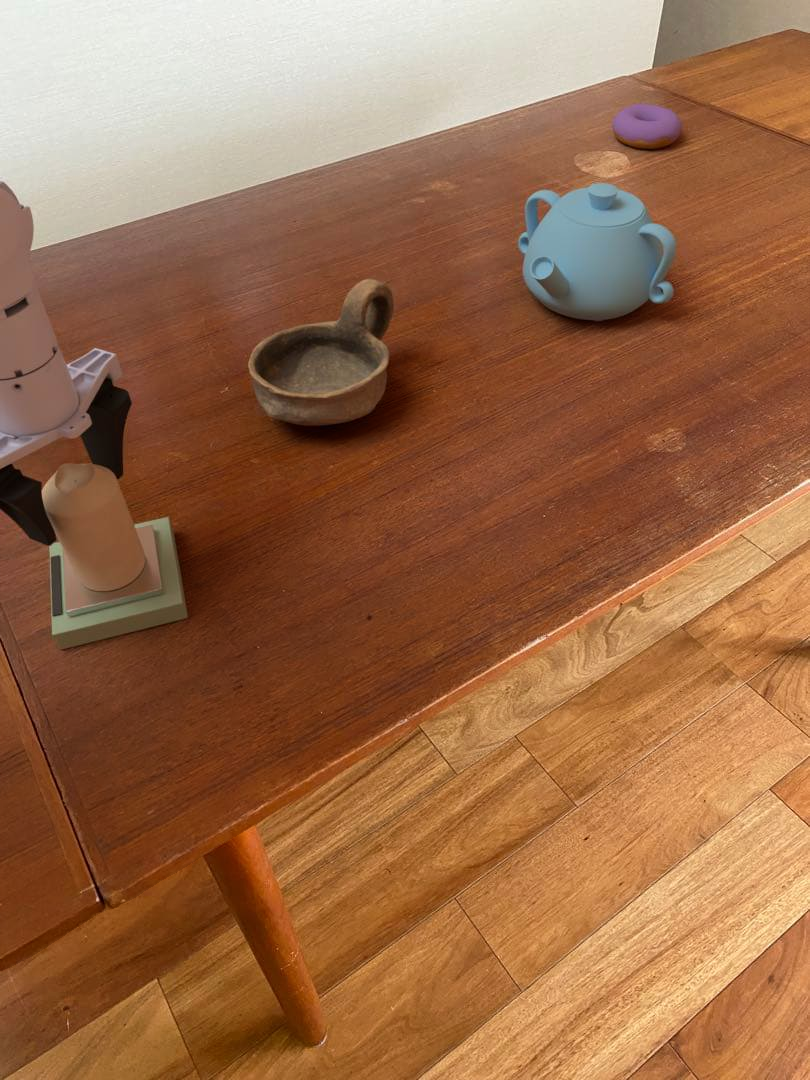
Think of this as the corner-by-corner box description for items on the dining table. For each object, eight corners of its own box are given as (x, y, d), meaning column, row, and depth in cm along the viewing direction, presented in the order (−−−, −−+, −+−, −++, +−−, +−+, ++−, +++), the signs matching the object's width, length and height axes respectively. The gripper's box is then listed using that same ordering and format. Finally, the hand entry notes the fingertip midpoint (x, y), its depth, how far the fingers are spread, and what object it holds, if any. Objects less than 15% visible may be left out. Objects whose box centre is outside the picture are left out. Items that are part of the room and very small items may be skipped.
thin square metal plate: (68, 617, 67) (65, 612, 67) (65, 550, 72) (62, 544, 71) (164, 594, 68) (162, 588, 68) (154, 529, 73) (152, 524, 73)
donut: (597, 139, 127) (605, 103, 124) (626, 132, 133) (635, 97, 130) (658, 156, 122) (668, 119, 119) (686, 148, 128) (696, 113, 125)
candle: (65, 563, 70) (20, 472, 63) (126, 530, 72) (90, 439, 65) (95, 603, 67) (53, 513, 60) (158, 568, 69) (124, 476, 62)
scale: (60, 650, 67) (50, 633, 66) (56, 559, 74) (48, 542, 72) (188, 618, 69) (182, 601, 68) (173, 532, 76) (167, 514, 74)
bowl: (226, 413, 87) (206, 328, 79) (345, 334, 96) (337, 251, 88) (324, 471, 81) (312, 384, 73) (442, 381, 89) (442, 295, 82)
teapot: (698, 293, 99) (725, 185, 90) (608, 378, 89) (628, 266, 79) (552, 242, 108) (562, 139, 98) (455, 314, 98) (456, 207, 88)
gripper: (-26, 438, 49) (52, 589, 59) (133, 309, 58) (179, 460, 68) (-113, 406, 52) (-24, 557, 62) (53, 287, 60) (108, 436, 70)
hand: (78, 505), depth 65 cm, fingers open, 7 cm apart
